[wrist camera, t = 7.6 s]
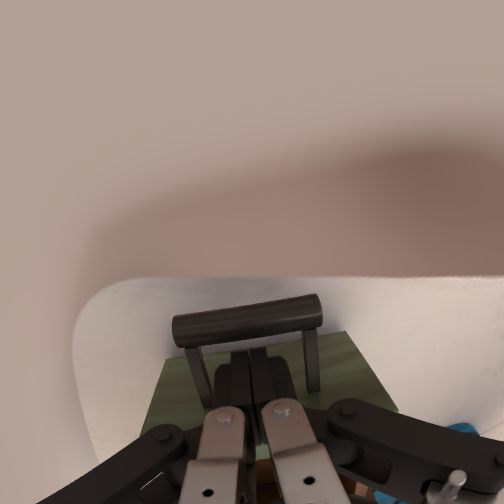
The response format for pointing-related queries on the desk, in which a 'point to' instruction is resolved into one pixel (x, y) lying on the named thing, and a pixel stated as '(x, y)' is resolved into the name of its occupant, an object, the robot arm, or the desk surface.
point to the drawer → (295, 353)
